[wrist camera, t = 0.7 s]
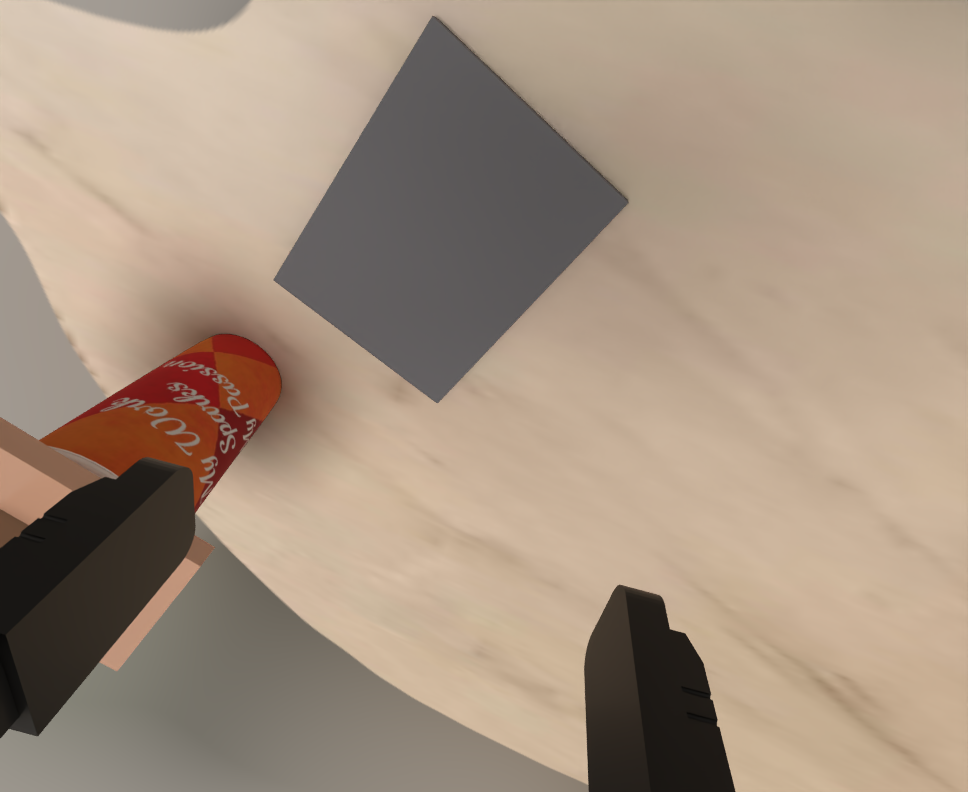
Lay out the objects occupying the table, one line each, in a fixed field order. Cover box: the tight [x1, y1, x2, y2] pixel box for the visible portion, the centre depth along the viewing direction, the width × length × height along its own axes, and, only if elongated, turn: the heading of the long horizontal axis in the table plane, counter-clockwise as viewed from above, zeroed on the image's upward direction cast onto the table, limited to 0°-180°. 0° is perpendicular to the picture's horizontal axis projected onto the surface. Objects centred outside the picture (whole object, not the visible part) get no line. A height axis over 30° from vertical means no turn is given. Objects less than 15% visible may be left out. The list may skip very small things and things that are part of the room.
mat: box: [274, 16, 628, 403], centre depth 29 cm, size 16×12×1 cm
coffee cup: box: [39, 334, 281, 513], centre depth 30 cm, size 8×8×15 cm
